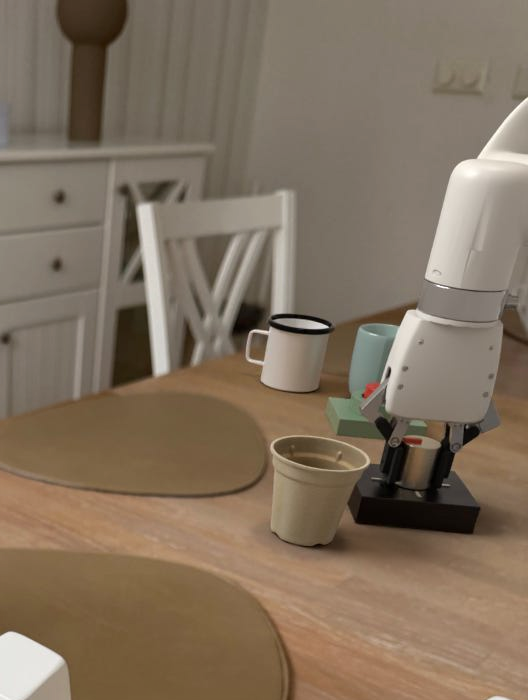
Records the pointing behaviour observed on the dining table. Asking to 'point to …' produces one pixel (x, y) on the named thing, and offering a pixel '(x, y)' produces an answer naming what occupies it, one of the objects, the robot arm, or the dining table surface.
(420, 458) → the knob
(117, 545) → the dining table surface
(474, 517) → the dial panel
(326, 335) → the mug
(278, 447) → the flower pot
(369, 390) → the button
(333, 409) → the button housing
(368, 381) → the cup
